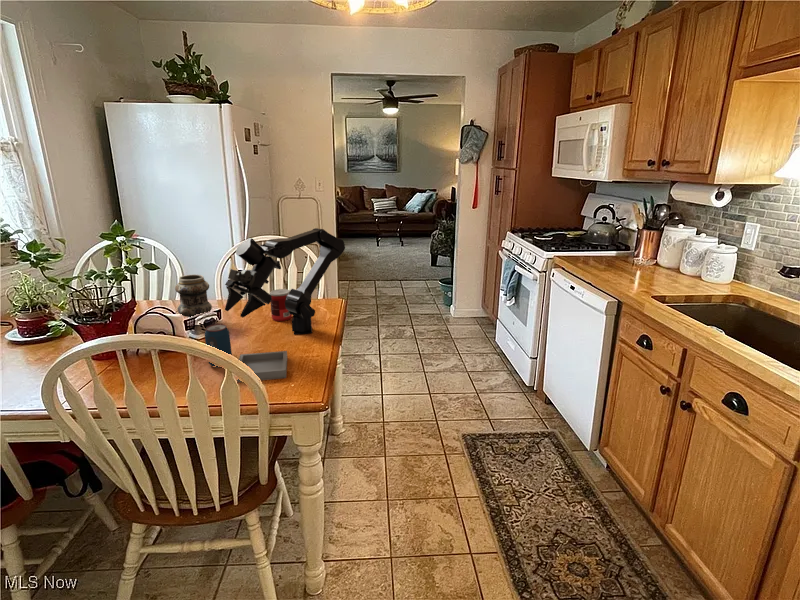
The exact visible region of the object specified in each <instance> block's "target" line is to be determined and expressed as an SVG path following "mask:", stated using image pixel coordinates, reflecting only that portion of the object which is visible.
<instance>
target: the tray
mask: <svg viewBox="0 0 800 600" xmlns="http://www.w3.org/2000/svg"><path fill="white" fill-rule="evenodd" d="M239 360H240V361H242V362H243V363H245V364H246V365H247V366H249V367H250V368H251V369H252V370H253V371H254V373H255V374H256V375H257V376H258V377H259V378H260V379H261V380H260V381H267V380H268V381H269V380H277V379H279V380H280V379H287V374H288V373H287V371H288V370H287V369H288V351H287V350H282V351H281V350H279V351H267V352H256V353H241V354H239V357H238V361H239ZM237 381H238V382H237V383H242V382H241V381H240V380H239V379H238V380H237Z"/></svg>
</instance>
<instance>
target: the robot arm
mask: <svg viewBox="0 0 800 600" xmlns="http://www.w3.org/2000/svg"><path fill="white" fill-rule="evenodd" d="M314 243H317V244H318V245H319V246H320V247H319V255H318V258H317V259H316V260H315V262H314V264H313V265H312V267H311V268H310V270H309V271H308V274H307V275H306V276H305V278H304V279H303V281H302V283H301V284H300V286H299V287H298V288H296V289H295V288H291V289H289V290H290V292H289V294H288V295H287V296H286V297H285V298H287V299H286V300H285V307H286V309H287V310H288V311H289V313H290V314H292V317H291V330H292V332H293V334H294V335H304V334H305V335H306V334H307V335H308V334H313V329H312V328H313V327H312V318H313V317H314V316H315V314H316V310H315V309H314V308H313V307H312V306H311V304H312V294H313V293H314V291H315V289H316V287H317V286H318V284H319V283H320V281H321V280H322V278H323V277H324V275H325V273H326V272H327V270H328V269H329V266H331V264H332V263H333V262H335V261H336V260H337V259H339V258H340V257H341V255H343V253H344V252H345V249H346V246H345V245H346V244H345V242H344V239H341V238H338V237H336V236H335V235H332V234H331V233H329V232H327V231H326V230H325V229H323V228H319V227H315V228H313V229H310V230H307V231H304V232H301V233H299V234H296V235H293V236H290V237H284V238H279V237H278V238H271V239H268V240H266V241H265V243H263V244H258V242H256V240H254V239H253V238H251V237H248V238H247V239H246V240H245V241H243V242H241V243H240V244H238V246H237V247H236V249H235V254H236V255H237V256H238V257H239V258H241V259H242V260H244V262H245V263H247V264H248V265H250V266H253V265H254V266H253V267H252V268H251V269H242V270H241V271H240V270H236V269H233V268H230V271H229V273H228V279H227V280H226V283H225V284H224V285H225V286H226V287H225V288H226V289H227V292H228V295H227V300H226V304H225V307H224V310H225V312H229V311H230V310H231V309H233V308H234V306H236V305H237V304H238V303H239V302H240V301H241V300H242V299H243V298H244V295H246V294H247V302H246V304H245V305H244V307H243V309H242V311H241V313H240V317H241V318H243V319H244V318H245V317H246V316H248V315H251V313H253V312H254V311H256V310H258V309H260V308H262V307H263V306H264V307H265V306H266V304H267V305H270V304H271V303H270V302H271V300H272V296H271V295H270V292H267V291H266V290H265V289H263V286H264V284H268V283H269V280H268V279H269V277H270V276H271V274H272V272H273V271H274V270H275V269H277V270H281V269H282V266H281V261H280V260H277V259H281V260H282V259H285V258H286V257H288V256H290V255H292V253H293V252H294V251H295V250H297V249H300V248H303V247H305V246H308V245H311V244H314ZM274 258H275V259H274Z"/></svg>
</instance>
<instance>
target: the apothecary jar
mask: <svg viewBox="0 0 800 600" xmlns="http://www.w3.org/2000/svg"><path fill="white" fill-rule="evenodd" d="M209 289H210V284H209V282H208V281H206V280H205V277H204V276H203V275H202V274H186V275H185V274H184V275H181V276H179V278H178V282H177V284H176V285H175V287H174V290H175V292H176V293H178V295H179V302H180V304H179V305H178V306H177V312H178V313H179V314H180V315H181V314H182V315H181V316H183V317H187V318H190V317H191V316H194V315H196V314H200V313H204V312H208V311H210V312H211V310H212V308H213V306H212V303H211V302H209V301H208V294H207V293H208V290H209Z"/></svg>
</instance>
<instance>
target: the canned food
mask: <svg viewBox="0 0 800 600" xmlns="http://www.w3.org/2000/svg"><path fill="white" fill-rule="evenodd" d="M290 290H291V289H288V288H287V289H286V288H279V289H273V290H271V291H270V292H269V294H270V295H271V296H272V300H271V302H270V303H269V304H270V313H271V319H272V320H273V321H275V322H286V321H285V320H287V321H289V320H292V318H293V315H292V314H290V313H289V311H288V310H287V309H286V307H285V300H286V299H287V298H285V297H286V296H287V295H288V294H289V292H290Z"/></svg>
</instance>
